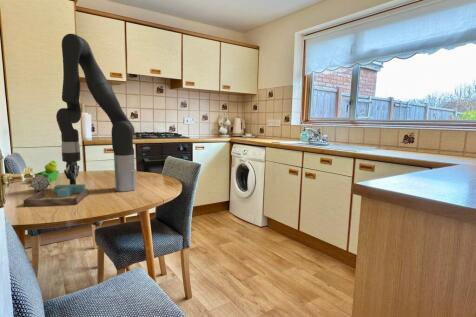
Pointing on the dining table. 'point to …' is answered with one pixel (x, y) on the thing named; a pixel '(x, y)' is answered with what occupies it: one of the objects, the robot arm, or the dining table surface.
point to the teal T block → (68, 189)
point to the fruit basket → (50, 171)
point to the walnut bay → (53, 200)
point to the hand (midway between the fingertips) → (73, 186)
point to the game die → (40, 182)
